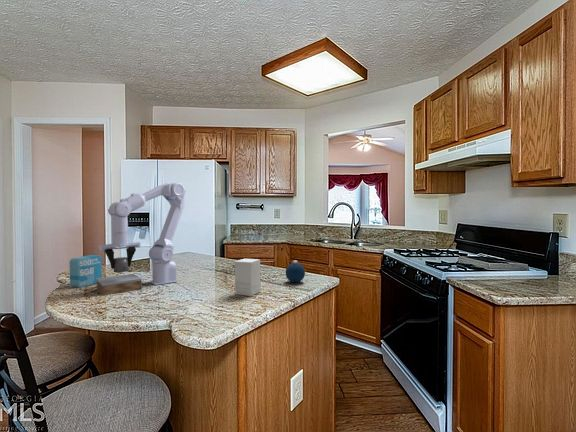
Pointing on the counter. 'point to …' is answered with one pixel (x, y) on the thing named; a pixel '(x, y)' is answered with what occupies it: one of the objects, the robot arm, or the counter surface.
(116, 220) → the robot arm
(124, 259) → the dark grey rounded plug
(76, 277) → the data package
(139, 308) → the counter surface
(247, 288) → the supplement box
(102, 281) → the lid
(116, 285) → the box
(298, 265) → the christmas ornament
